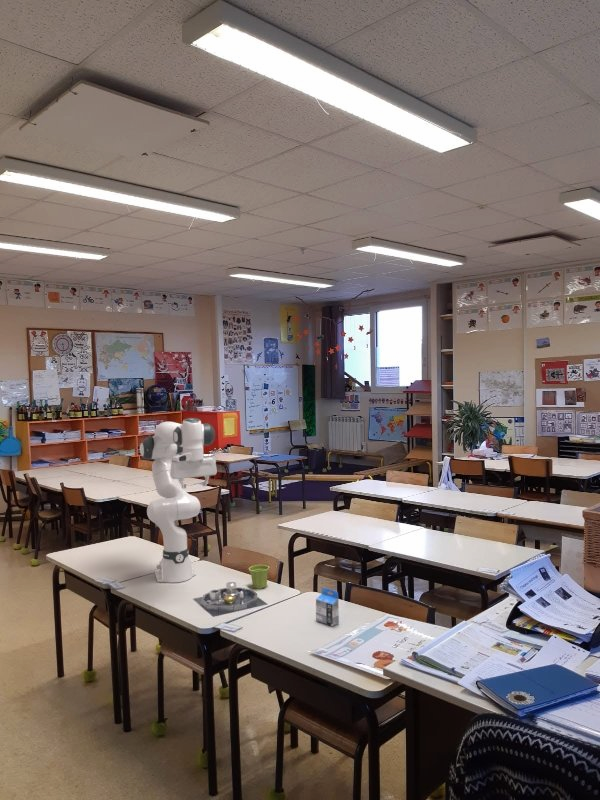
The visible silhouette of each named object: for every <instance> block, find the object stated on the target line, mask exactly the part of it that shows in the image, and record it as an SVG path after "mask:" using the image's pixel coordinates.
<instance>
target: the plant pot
mask: <svg viewBox="0 0 600 800" xmlns="http://www.w3.org/2000/svg"><path fill="white" fill-rule="evenodd" d="M269 569H270V566H269V565H266V564H265V565H264V564H256V565H251V566H250V567H248V571H249V573H250V577H251V583H252V587H253V588H255V589H257V590H258V589H263V588H266V587H267V586H268V585H267V584H268V572H269Z"/></svg>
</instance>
